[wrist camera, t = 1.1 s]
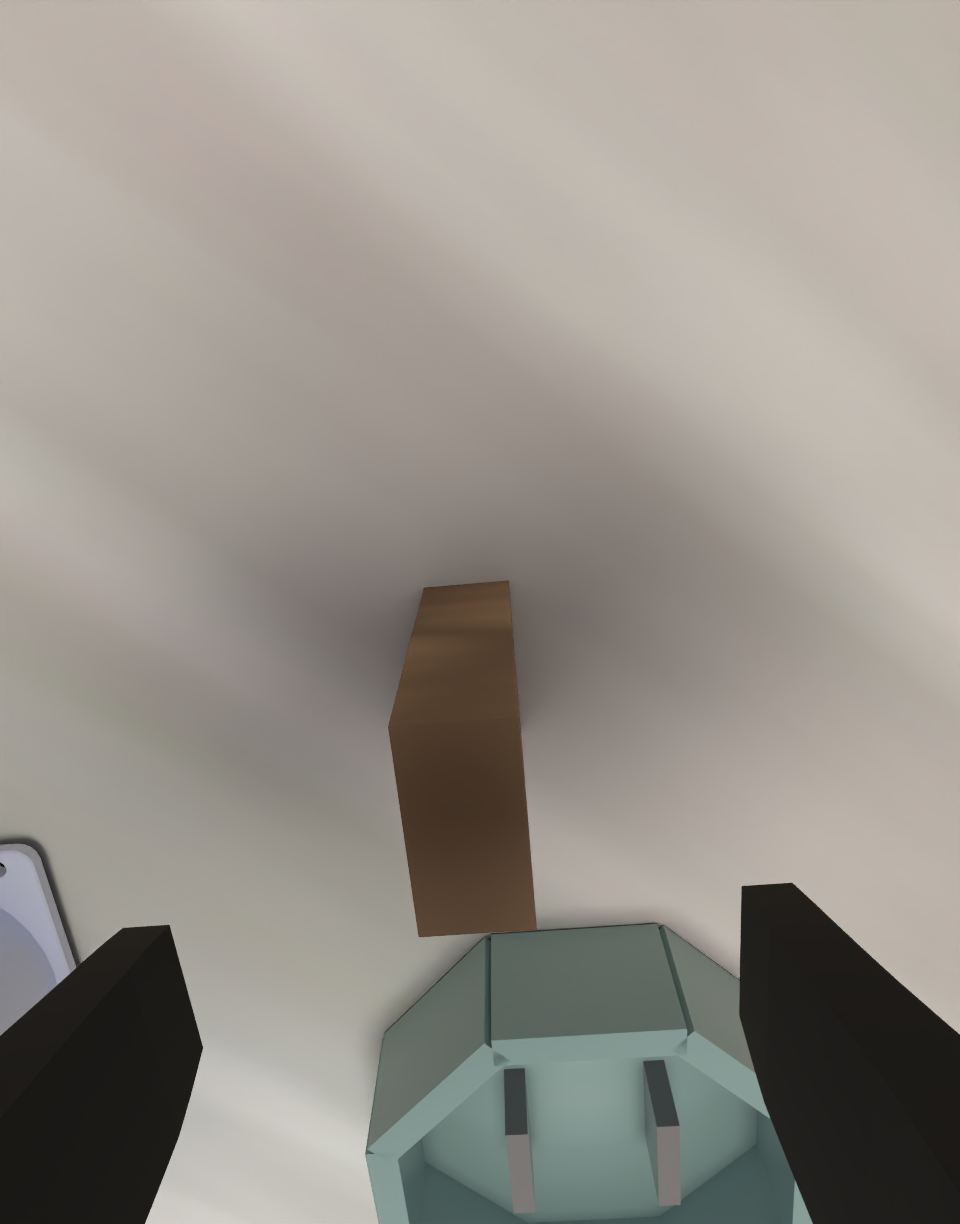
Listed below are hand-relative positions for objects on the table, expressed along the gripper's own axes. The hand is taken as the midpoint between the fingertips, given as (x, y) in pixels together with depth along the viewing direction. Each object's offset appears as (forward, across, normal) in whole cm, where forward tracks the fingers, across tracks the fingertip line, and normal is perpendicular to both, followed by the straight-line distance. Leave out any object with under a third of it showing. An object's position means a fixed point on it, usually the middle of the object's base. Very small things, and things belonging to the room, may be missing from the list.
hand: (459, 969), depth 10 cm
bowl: (+10, -2, +14) cm, 17 cm away
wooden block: (+10, 0, 0) cm, 10 cm away
